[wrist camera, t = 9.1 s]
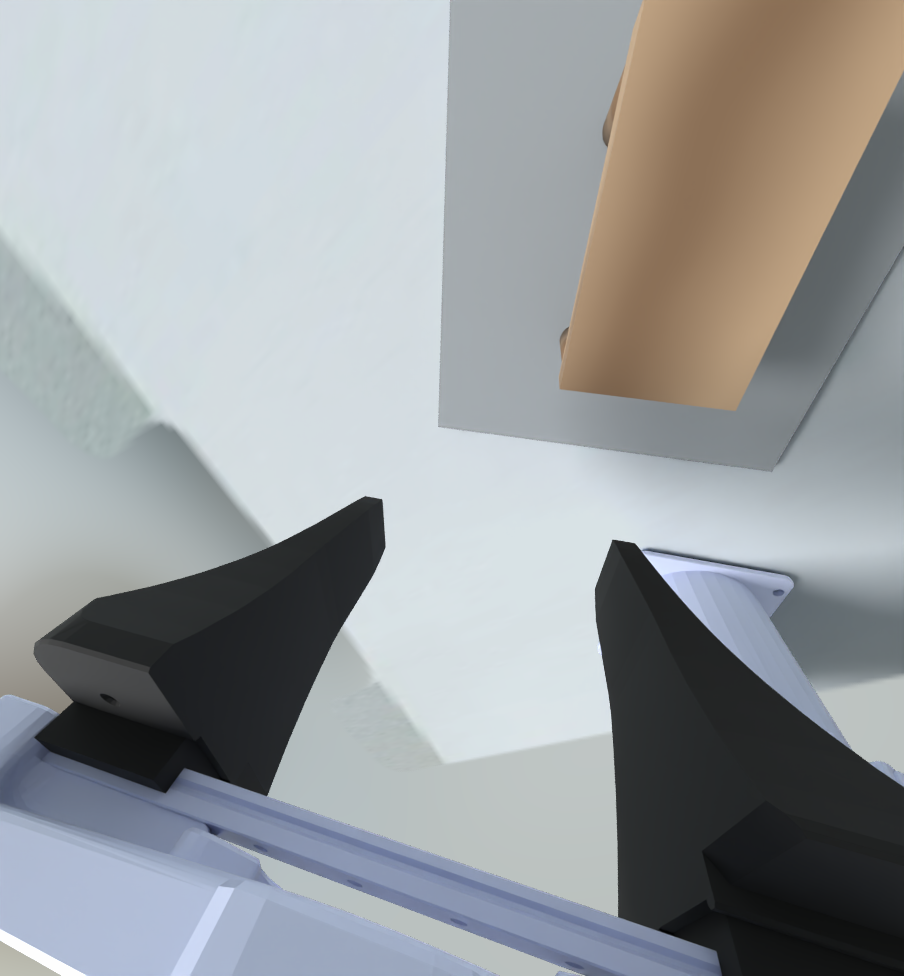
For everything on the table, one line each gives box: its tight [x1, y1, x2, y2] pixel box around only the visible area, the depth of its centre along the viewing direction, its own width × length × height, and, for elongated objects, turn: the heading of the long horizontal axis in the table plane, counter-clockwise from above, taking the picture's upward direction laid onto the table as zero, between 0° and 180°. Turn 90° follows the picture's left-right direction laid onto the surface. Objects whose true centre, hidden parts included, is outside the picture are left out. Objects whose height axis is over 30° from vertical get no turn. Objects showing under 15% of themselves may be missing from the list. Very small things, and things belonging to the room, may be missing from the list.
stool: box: [559, 0, 904, 411], centre depth 11 cm, size 5×8×6 cm, turn 177°
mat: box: [438, 0, 904, 472], centre depth 14 cm, size 16×16×1 cm
